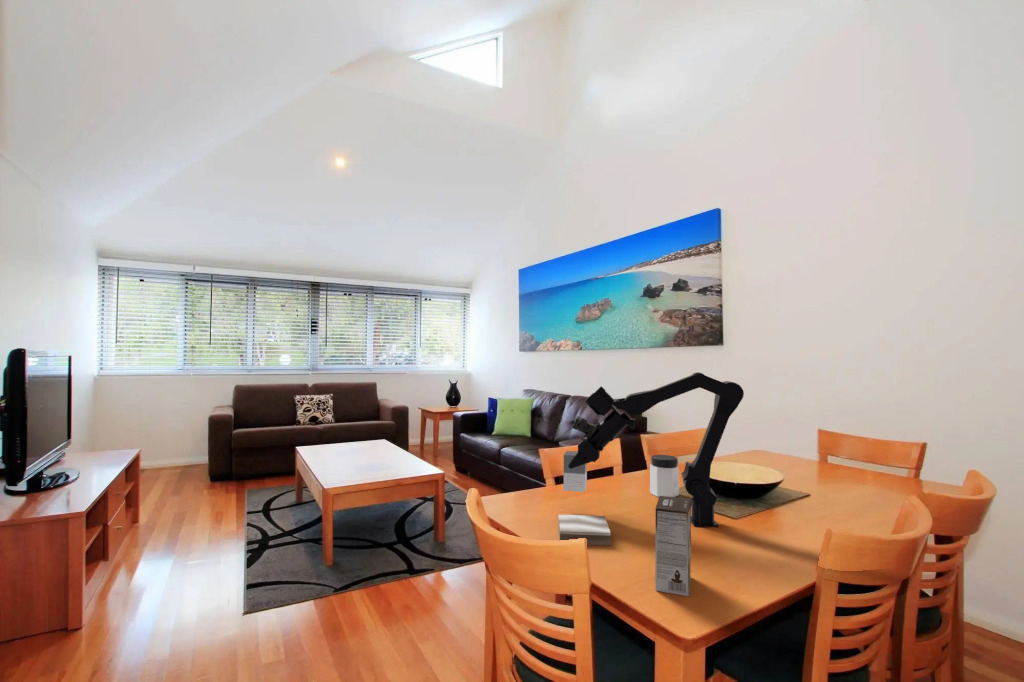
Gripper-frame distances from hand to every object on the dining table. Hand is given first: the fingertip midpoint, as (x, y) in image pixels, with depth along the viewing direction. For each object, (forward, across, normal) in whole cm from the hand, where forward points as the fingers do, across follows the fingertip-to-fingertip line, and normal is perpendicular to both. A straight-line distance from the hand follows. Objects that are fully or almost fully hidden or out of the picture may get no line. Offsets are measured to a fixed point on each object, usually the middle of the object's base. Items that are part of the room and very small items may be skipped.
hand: (570, 464), depth 140 cm
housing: (+4, 0, +6) cm, 7 cm away
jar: (-10, -25, +29) cm, 40 cm away
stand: (+6, +17, +13) cm, 22 cm away
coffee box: (-8, +38, +27) cm, 48 cm away
